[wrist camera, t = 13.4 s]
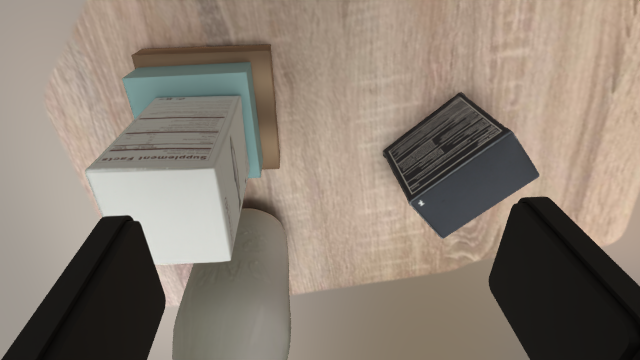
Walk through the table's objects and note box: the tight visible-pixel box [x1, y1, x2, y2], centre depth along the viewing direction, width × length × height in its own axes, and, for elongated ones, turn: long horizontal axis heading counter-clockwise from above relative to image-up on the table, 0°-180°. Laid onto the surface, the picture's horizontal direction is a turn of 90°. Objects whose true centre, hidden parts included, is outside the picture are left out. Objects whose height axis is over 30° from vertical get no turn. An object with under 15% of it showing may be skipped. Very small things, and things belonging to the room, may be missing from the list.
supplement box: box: [85, 96, 250, 265], centre depth 28 cm, size 7×7×13 cm
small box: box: [383, 93, 539, 239], centre depth 38 cm, size 11×6×10 cm, turn 131°
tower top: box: [122, 62, 263, 178], centre depth 34 cm, size 10×10×4 cm
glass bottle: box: [172, 208, 291, 360], centre depth 34 cm, size 10×10×28 cm
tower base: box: [132, 45, 280, 169], centre depth 38 cm, size 12×12×4 cm
